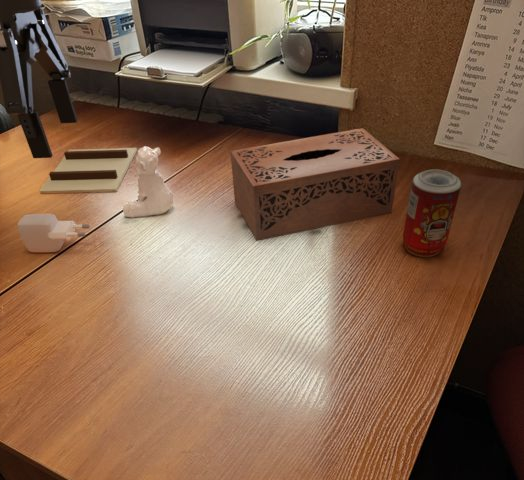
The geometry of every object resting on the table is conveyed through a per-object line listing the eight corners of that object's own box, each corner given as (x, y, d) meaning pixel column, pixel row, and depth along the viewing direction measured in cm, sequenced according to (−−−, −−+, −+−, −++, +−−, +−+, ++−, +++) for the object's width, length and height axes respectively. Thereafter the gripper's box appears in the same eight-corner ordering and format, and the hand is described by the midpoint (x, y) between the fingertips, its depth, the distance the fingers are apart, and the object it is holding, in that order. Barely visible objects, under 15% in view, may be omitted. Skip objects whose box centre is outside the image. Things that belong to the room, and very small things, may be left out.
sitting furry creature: (146, 193, 101) (132, 133, 92) (185, 199, 99) (174, 137, 90) (122, 217, 95) (105, 155, 86) (162, 223, 92) (149, 160, 84)
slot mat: (40, 193, 103) (36, 184, 101) (69, 152, 117) (66, 143, 116) (116, 191, 102) (114, 182, 101) (137, 150, 116) (135, 141, 115)
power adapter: (97, 239, 89) (87, 209, 85) (89, 255, 86) (78, 224, 82) (36, 240, 90) (23, 210, 86) (25, 255, 87) (12, 225, 83)
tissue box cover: (256, 240, 87) (253, 186, 80) (234, 202, 97) (230, 150, 90) (391, 212, 92) (399, 158, 85) (357, 178, 102) (362, 128, 94)
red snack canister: (415, 263, 80) (429, 191, 72) (393, 240, 85) (404, 171, 76) (453, 254, 82) (472, 182, 73) (430, 232, 86) (445, 163, 78)
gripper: (-7, -8, 56) (56, 173, 71) (60, -42, 74) (99, 109, 89) (-73, -5, 57) (4, 175, 71) (10, -40, 74) (57, 110, 89)
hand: (57, 138), depth 80 cm, fingers open, 13 cm apart
